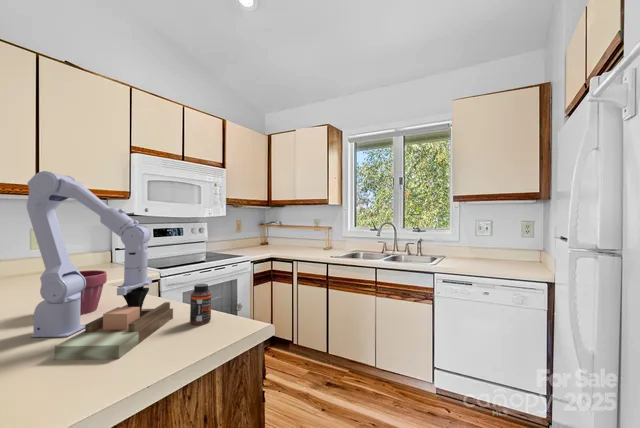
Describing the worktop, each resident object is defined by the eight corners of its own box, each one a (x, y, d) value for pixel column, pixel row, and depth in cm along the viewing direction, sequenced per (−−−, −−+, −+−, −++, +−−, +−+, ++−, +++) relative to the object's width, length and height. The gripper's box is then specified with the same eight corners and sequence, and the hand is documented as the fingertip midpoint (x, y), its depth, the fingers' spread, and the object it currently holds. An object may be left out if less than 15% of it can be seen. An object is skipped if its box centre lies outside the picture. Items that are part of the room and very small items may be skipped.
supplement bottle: (203, 326, 89) (204, 287, 89) (185, 324, 90) (186, 286, 90) (214, 319, 95) (215, 283, 95) (197, 318, 96) (198, 282, 96)
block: (102, 329, 78) (103, 314, 78) (117, 321, 84) (117, 307, 84) (126, 329, 78) (127, 313, 78) (139, 321, 84) (139, 307, 84)
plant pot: (77, 319, 94) (78, 278, 94) (40, 317, 96) (41, 276, 97) (116, 306, 108) (116, 270, 108) (82, 304, 110) (83, 269, 111)
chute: (54, 359, 67) (54, 337, 67) (127, 318, 95) (127, 302, 95) (119, 358, 68) (119, 336, 68) (172, 317, 96) (173, 302, 96)
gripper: (136, 271, 80) (135, 322, 80) (161, 263, 95) (161, 306, 95) (109, 271, 80) (108, 323, 80) (138, 263, 94) (138, 307, 94)
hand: (135, 314), depth 87 cm, fingers closed
